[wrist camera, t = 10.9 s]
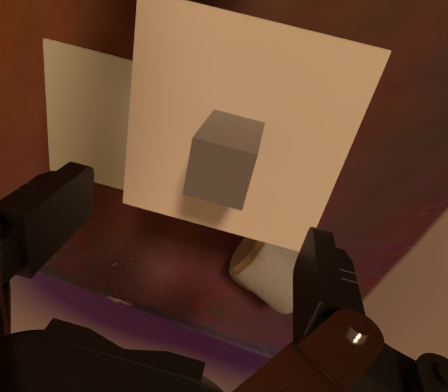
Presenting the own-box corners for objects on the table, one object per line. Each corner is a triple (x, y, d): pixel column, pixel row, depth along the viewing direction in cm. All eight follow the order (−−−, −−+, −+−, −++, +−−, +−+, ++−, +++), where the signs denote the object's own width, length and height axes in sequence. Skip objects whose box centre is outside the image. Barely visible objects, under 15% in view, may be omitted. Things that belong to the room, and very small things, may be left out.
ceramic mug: (266, 208, 40) (261, 248, 34) (320, 247, 41) (324, 292, 35) (216, 260, 45) (203, 304, 39) (265, 293, 47) (260, 340, 40)
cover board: (143, -11, 18) (86, -19, 13) (387, 49, 17) (426, 65, 12) (127, 197, 24) (85, 245, 19) (304, 246, 24) (308, 309, 19)
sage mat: (46, 38, 35) (42, 38, 35) (187, 74, 34) (185, 74, 34) (52, 168, 43) (49, 170, 42) (168, 199, 42) (167, 201, 41)
